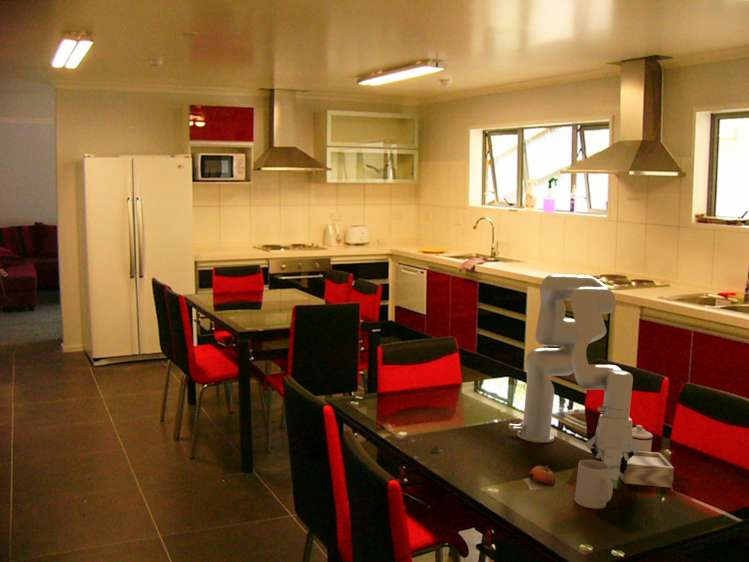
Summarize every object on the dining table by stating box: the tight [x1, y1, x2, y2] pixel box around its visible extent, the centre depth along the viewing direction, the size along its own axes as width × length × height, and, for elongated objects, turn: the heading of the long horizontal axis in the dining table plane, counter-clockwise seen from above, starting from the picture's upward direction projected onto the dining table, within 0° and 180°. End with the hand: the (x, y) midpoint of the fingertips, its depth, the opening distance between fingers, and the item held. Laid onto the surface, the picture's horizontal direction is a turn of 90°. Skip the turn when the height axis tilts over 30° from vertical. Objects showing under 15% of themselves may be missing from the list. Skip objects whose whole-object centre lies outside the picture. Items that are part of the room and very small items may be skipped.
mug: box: [574, 459, 614, 510], centre depth 221 cm, size 12×8×11 cm
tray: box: [619, 451, 675, 488], centre depth 247 cm, size 14×14×6 cm
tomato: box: [528, 465, 557, 487], centre depth 237 cm, size 8×7×7 cm
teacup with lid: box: [631, 424, 654, 452], centre depth 263 cm, size 12×9×12 cm
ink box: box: [601, 447, 622, 490], centre depth 240 cm, size 9×5×12 cm, turn 168°
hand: (610, 470), depth 240 cm, fingers open, 6 cm apart
